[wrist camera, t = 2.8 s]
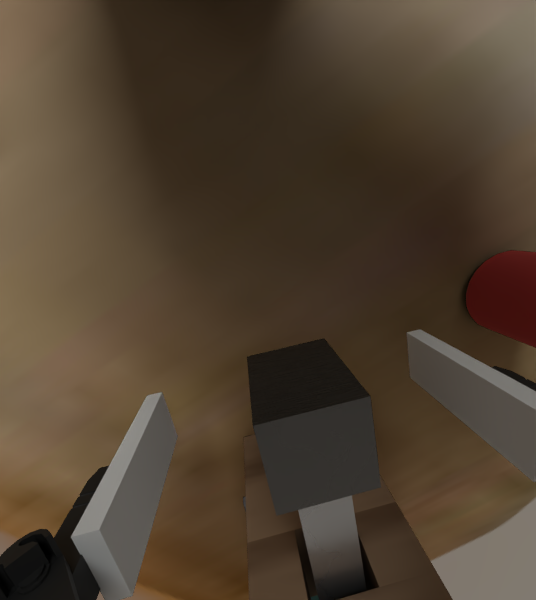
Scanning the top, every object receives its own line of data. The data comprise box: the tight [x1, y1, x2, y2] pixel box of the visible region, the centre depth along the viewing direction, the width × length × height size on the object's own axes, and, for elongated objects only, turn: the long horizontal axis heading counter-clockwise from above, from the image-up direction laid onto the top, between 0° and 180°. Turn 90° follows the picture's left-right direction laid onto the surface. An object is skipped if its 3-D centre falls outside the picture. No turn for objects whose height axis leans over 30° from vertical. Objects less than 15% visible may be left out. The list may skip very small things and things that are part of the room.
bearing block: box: [244, 434, 452, 600], centre depth 19 cm, size 6×9×13 cm, turn 102°
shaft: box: [247, 339, 381, 600], centre depth 14 cm, size 23×4×5 cm, turn 12°
